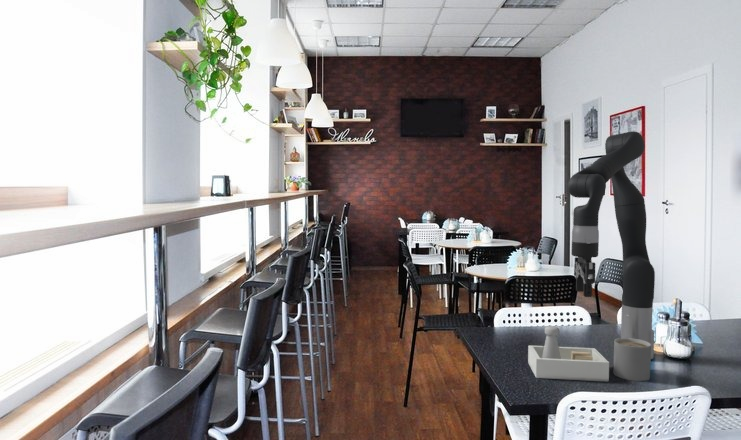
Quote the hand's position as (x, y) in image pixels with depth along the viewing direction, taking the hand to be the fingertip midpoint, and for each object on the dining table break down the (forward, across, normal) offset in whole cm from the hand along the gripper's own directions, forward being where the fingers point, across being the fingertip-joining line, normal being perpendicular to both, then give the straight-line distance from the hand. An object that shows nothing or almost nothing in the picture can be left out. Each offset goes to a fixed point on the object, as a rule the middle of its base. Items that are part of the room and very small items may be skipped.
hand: (583, 293), depth 160 cm
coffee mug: (+24, -1, +16) cm, 29 cm away
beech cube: (+24, 0, 0) cm, 24 cm away
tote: (+24, 0, -4) cm, 25 cm away
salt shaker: (+24, 0, -9) cm, 25 cm away
